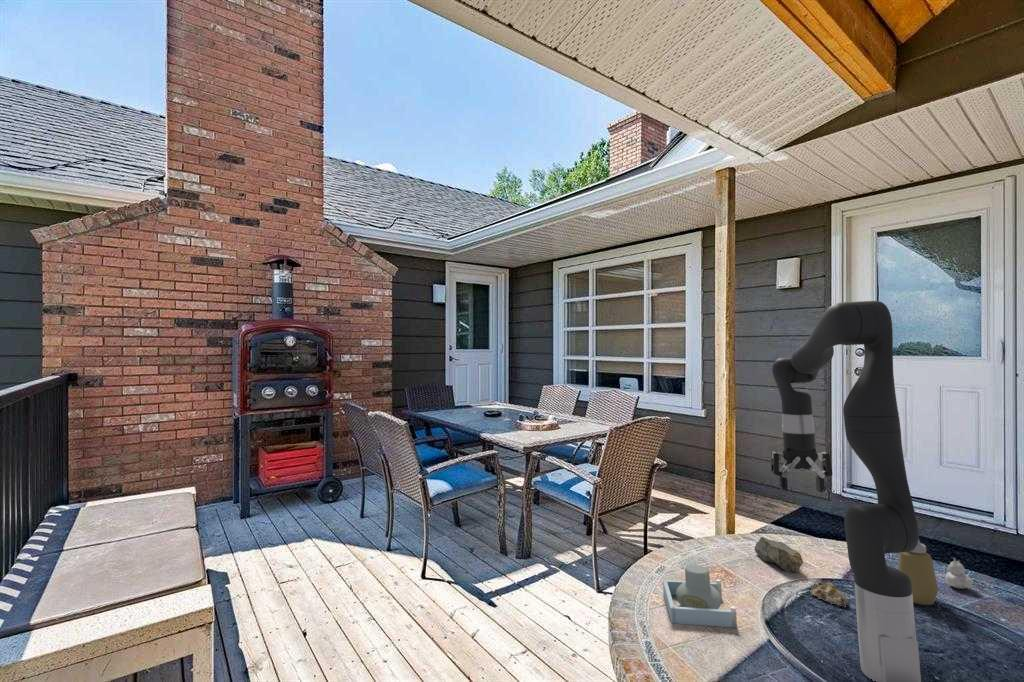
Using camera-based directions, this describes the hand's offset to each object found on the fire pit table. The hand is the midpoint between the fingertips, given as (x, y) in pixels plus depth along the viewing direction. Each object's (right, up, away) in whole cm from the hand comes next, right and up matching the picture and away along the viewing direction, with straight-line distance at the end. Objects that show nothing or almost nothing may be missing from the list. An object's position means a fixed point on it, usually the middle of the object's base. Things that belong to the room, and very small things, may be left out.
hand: (802, 491), depth 127 cm
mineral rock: (+6, -29, -1) cm, 29 cm away
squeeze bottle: (+28, -27, -4) cm, 39 cm away
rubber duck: (+44, -27, +2) cm, 52 cm away
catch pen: (-31, -29, -5) cm, 43 cm away
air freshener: (-30, -29, -5) cm, 42 cm away
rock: (+6, -30, +21) cm, 37 cm away
